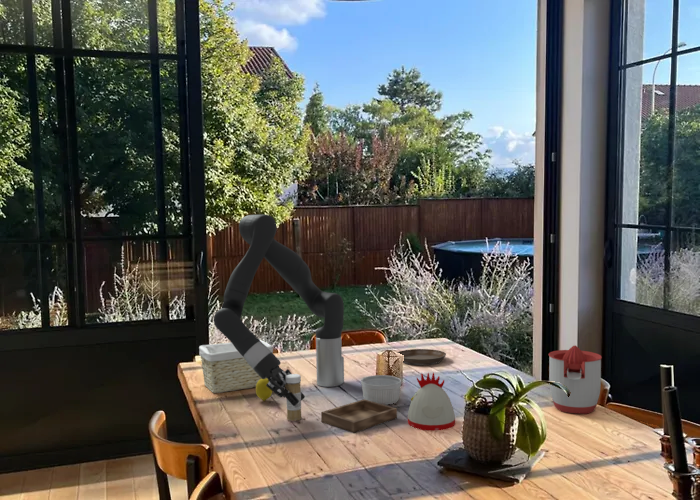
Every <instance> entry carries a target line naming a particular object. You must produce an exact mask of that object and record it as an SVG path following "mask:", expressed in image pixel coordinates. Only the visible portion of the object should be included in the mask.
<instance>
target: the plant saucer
mask: <svg viewBox="0 0 700 500" xmlns="http://www.w3.org/2000/svg"><path fill="white" fill-rule="evenodd" d="M396 353H400V354H402V355H404V364H406V365H410V366H411V365H412V366H431V365H436V364H439V363H441V362H443V360H444V359H445V357H446V356H447V353H446V351H442V350H439V349H430V348H413V349H403V350H400V351H397V352H396Z"/></svg>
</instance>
